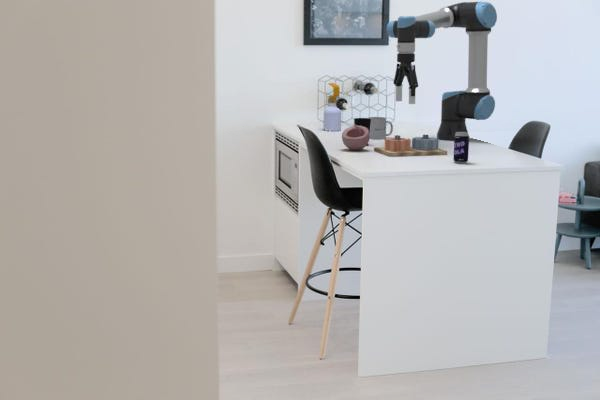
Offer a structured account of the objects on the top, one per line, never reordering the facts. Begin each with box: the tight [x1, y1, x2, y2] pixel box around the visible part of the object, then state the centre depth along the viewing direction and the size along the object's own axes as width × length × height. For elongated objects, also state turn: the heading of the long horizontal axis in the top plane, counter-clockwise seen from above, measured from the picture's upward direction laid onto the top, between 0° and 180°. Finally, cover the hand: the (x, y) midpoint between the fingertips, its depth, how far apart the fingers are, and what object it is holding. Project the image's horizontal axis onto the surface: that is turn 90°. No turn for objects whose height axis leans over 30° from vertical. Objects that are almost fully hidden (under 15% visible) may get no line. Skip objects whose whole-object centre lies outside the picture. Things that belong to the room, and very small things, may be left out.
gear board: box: [373, 134, 448, 158], centre depth 362 cm, size 26×18×8 cm
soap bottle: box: [323, 82, 342, 132], centre depth 443 cm, size 9×9×25 cm
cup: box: [353, 117, 371, 147], centre depth 386 cm, size 8×8×12 cm
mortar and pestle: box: [341, 123, 371, 151], centre depth 368 cm, size 12×12×12 cm
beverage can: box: [452, 132, 470, 164], centre depth 335 cm, size 6×6×12 cm
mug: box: [368, 116, 394, 141], centre depth 412 cm, size 12×9×10 cm
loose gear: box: [384, 137, 412, 152], centre depth 360 cm, size 11×11×4 cm
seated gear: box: [411, 136, 440, 151], centre depth 364 cm, size 11×11×4 cm
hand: (405, 102), depth 368 cm, fingers open, 13 cm apart
